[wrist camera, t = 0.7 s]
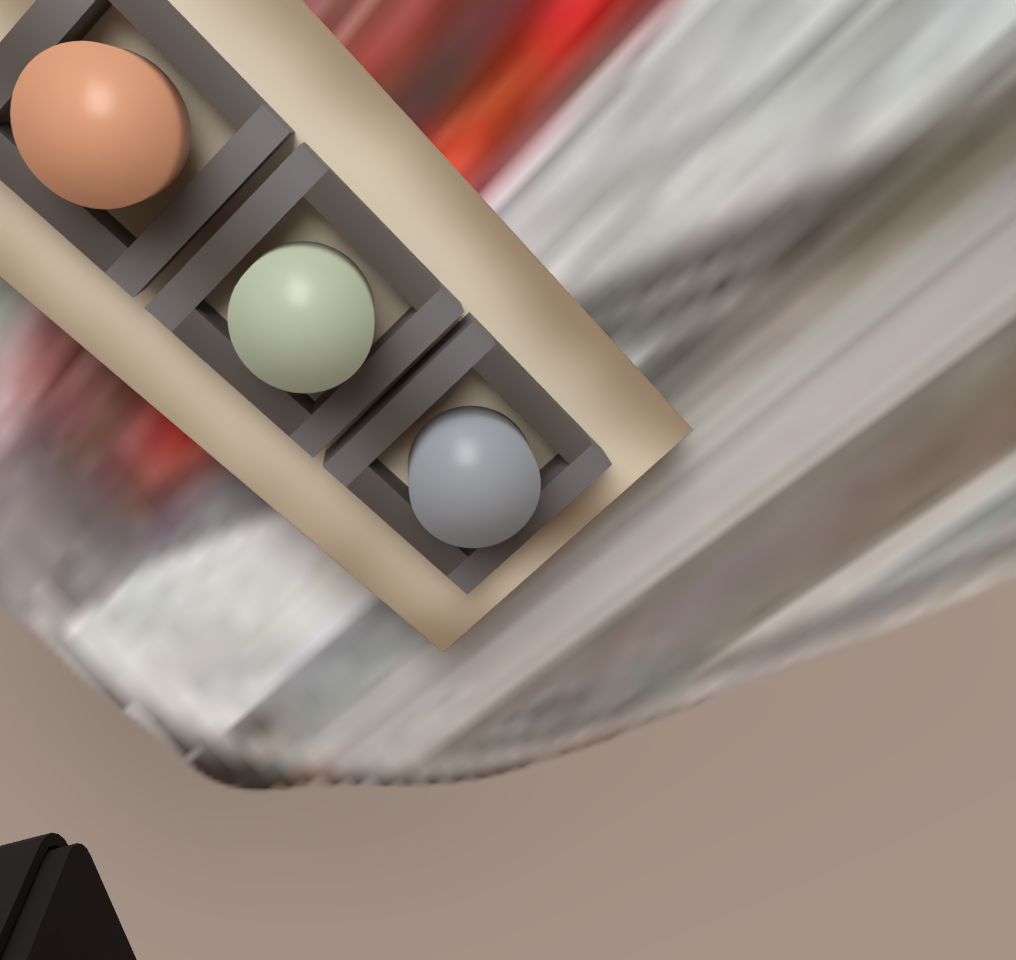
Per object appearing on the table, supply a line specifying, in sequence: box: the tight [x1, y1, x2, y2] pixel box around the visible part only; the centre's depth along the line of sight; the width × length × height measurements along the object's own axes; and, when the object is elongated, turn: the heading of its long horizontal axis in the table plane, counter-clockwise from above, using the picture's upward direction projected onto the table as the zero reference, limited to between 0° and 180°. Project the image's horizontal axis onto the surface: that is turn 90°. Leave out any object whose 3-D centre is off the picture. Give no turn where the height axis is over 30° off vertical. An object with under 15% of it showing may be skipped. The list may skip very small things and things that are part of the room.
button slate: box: [408, 406, 541, 548], centre depth 30 cm, size 4×4×2 cm
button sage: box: [228, 241, 375, 393], centre depth 28 cm, size 4×4×2 cm
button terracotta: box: [10, 41, 191, 209], centre depth 25 cm, size 4×4×2 cm
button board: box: [0, 0, 693, 652], centre depth 31 cm, size 12×24×4 cm, turn 43°
